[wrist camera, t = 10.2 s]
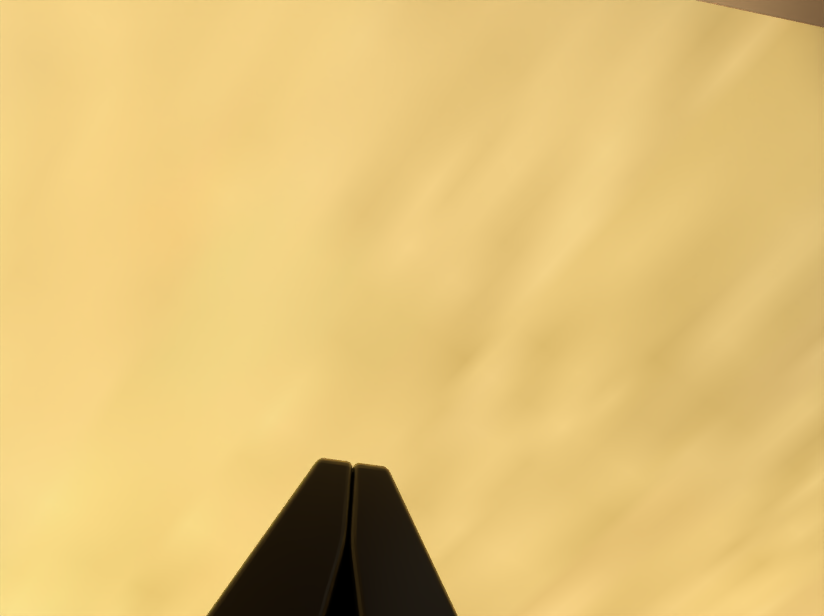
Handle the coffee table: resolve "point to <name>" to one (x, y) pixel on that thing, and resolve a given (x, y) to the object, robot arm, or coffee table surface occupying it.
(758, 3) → the button panel
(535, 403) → the coffee table surface
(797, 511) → the coffee table surface
